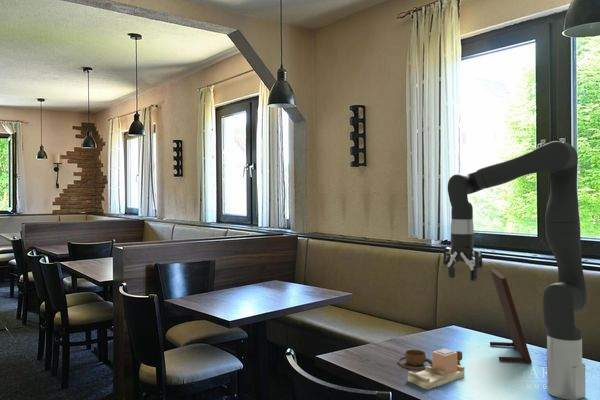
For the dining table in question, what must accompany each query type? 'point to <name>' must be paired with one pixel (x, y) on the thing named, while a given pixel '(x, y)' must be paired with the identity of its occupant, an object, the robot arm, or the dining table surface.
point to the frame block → (445, 360)
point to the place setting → (421, 359)
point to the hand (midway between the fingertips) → (462, 279)
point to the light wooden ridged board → (434, 377)
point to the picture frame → (510, 320)
